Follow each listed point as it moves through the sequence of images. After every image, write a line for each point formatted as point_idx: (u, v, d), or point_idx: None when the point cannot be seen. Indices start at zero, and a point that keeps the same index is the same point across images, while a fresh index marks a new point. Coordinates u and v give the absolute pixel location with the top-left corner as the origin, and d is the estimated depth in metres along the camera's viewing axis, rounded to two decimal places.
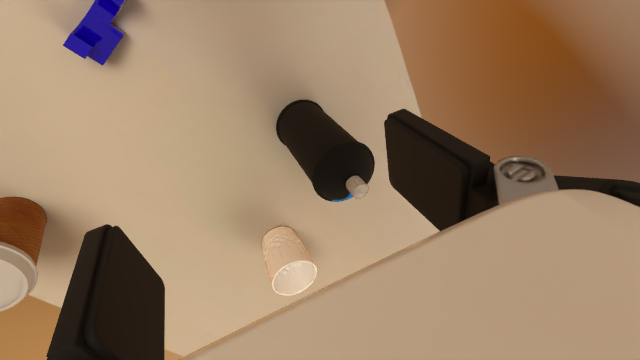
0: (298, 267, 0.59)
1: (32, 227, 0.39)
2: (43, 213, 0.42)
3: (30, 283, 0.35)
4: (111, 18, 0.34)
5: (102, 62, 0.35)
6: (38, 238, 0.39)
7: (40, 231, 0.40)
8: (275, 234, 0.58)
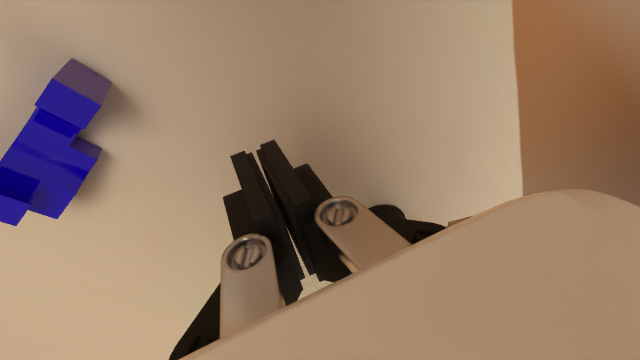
0: None
1: None
2: None
3: None
4: (71, 136, 0.18)
5: (56, 214, 0.18)
6: None
7: None
8: None
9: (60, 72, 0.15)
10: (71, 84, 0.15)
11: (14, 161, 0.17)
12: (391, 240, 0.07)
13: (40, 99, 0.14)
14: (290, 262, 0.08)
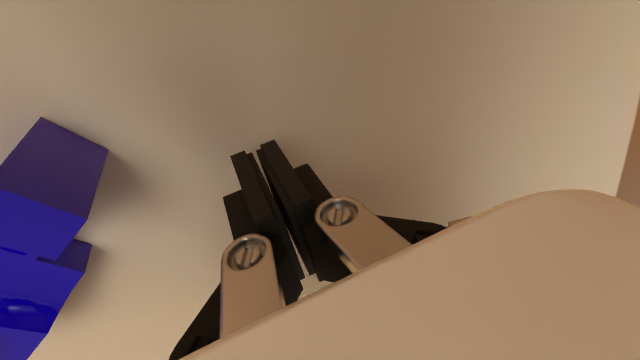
0: None
1: None
2: None
3: None
4: None
5: None
6: None
7: None
8: None
9: (9, 159, 0.08)
10: (29, 186, 0.08)
11: None
12: (391, 240, 0.07)
13: None
14: (290, 262, 0.08)
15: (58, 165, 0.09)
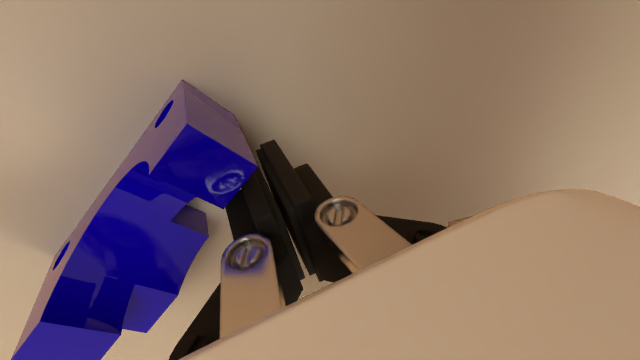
0: None
1: None
2: None
3: None
4: (177, 207, 0.11)
5: (146, 327, 0.12)
6: None
7: None
8: None
9: (187, 108, 0.08)
10: (210, 131, 0.08)
11: (90, 255, 0.10)
12: (391, 240, 0.07)
13: (160, 163, 0.07)
14: (290, 262, 0.08)
15: (215, 119, 0.09)
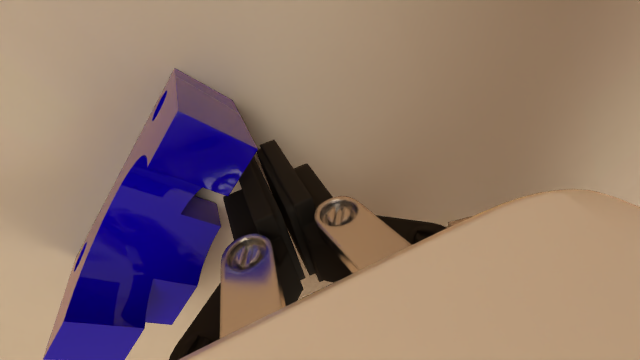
0: None
1: None
2: None
3: None
4: (185, 199, 0.11)
5: (170, 319, 0.12)
6: None
7: None
8: None
9: (179, 96, 0.08)
10: (205, 117, 0.08)
11: (106, 254, 0.10)
12: (391, 240, 0.07)
13: (157, 155, 0.07)
14: (290, 262, 0.08)
15: (211, 105, 0.09)
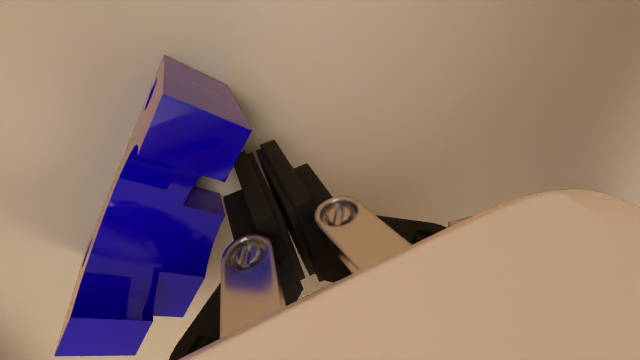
0: None
1: None
2: None
3: None
4: (185, 190, 0.10)
5: (181, 311, 0.12)
6: None
7: None
8: None
9: (166, 79, 0.07)
10: (194, 100, 0.07)
11: (110, 249, 0.10)
12: (391, 240, 0.07)
13: (146, 141, 0.07)
14: (290, 262, 0.08)
15: (202, 89, 0.08)
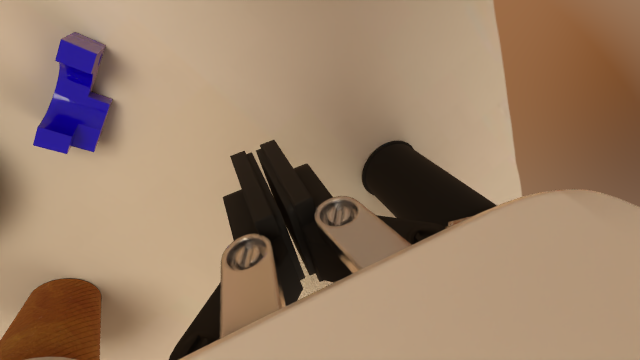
0: None
1: (91, 321, 0.31)
2: (98, 294, 0.35)
3: None
4: (87, 88, 0.25)
5: (92, 148, 0.26)
6: (98, 333, 0.31)
7: (98, 321, 0.32)
8: None
9: (66, 37, 0.22)
10: (74, 43, 0.22)
11: (55, 111, 0.24)
12: (391, 240, 0.07)
13: (57, 56, 0.21)
14: (290, 262, 0.08)
15: (84, 42, 0.23)
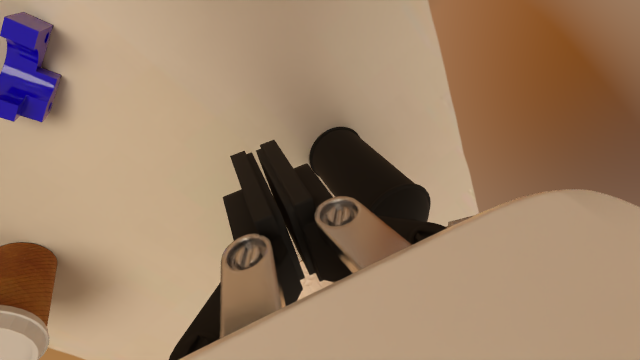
0: None
1: (42, 280, 0.34)
2: (54, 258, 0.38)
3: (41, 350, 0.30)
4: (35, 63, 0.28)
5: (40, 118, 0.29)
6: (49, 291, 0.34)
7: (51, 282, 0.35)
8: (303, 269, 0.53)
9: (11, 15, 0.25)
10: (18, 21, 0.24)
11: (4, 82, 0.27)
12: (391, 240, 0.07)
13: (2, 31, 0.24)
14: (290, 262, 0.08)
15: (29, 21, 0.26)
